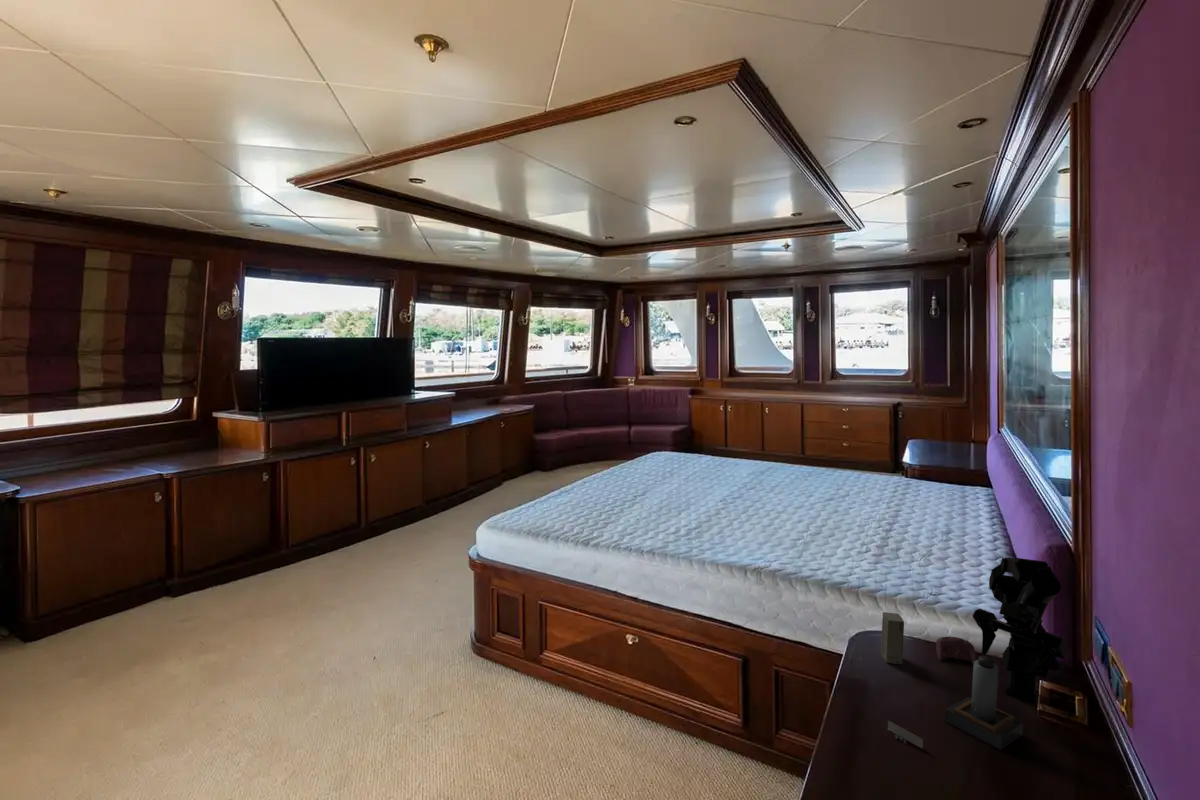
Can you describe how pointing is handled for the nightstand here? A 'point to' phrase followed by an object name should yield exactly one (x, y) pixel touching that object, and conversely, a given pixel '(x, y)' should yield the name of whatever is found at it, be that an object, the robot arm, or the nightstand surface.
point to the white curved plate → (905, 735)
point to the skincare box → (892, 638)
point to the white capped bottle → (984, 689)
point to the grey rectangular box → (985, 724)
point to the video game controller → (954, 642)
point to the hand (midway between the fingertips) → (1003, 662)
